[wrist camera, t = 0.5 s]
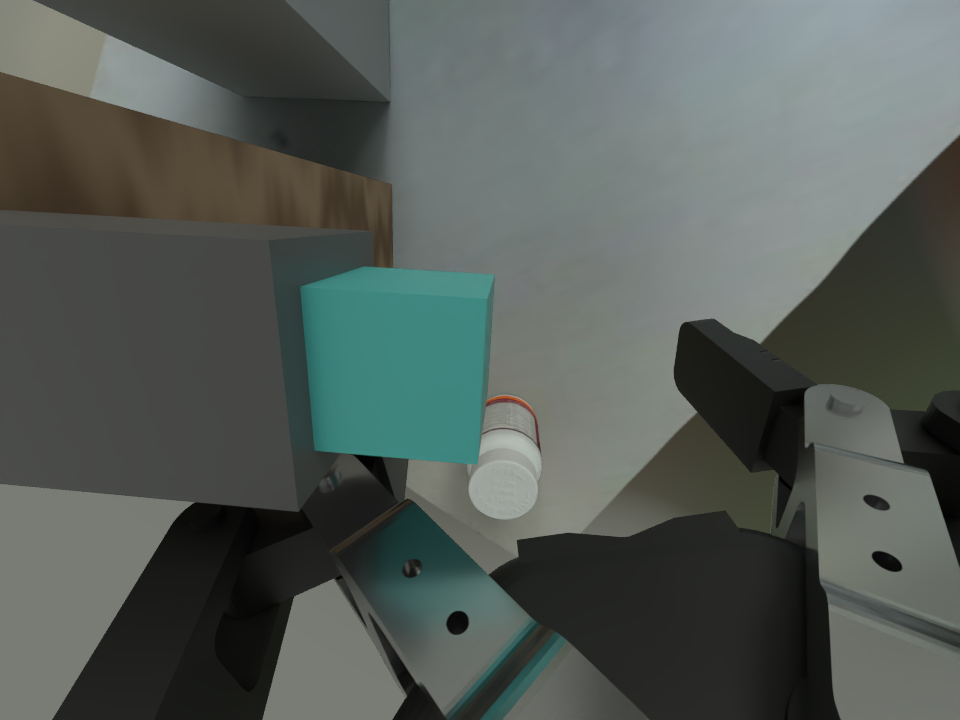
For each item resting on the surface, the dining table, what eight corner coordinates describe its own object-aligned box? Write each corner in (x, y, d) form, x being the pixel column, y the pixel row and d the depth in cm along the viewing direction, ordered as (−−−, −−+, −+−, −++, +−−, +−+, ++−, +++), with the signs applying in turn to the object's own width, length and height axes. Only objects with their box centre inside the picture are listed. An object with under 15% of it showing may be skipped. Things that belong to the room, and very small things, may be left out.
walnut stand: (252, 177, 35) (-823, 5, 7) (391, 184, 35) (-158, 26, 6) (263, 273, 38) (-481, 434, 9) (393, 281, 37) (11, 480, 9)
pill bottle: (519, 457, 42) (522, 538, 31) (464, 433, 42) (448, 507, 31) (548, 408, 40) (561, 476, 29) (490, 381, 40) (482, 442, 29)
